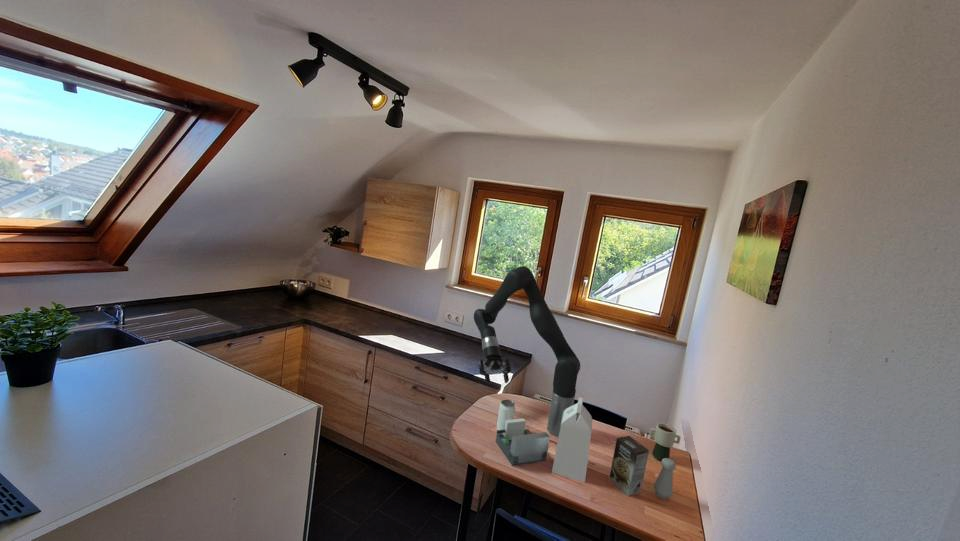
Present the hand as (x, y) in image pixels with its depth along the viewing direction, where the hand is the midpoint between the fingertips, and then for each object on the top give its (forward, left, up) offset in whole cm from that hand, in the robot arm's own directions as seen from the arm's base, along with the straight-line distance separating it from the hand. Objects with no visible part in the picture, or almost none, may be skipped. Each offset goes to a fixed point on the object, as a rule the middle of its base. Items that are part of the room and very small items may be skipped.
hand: (497, 382), depth 170 cm
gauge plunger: (+2, +19, -14) cm, 24 cm away
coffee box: (-28, +51, -16) cm, 61 cm away
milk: (-14, +38, -16) cm, 44 cm away
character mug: (-55, +41, -16) cm, 71 cm away
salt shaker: (-38, +58, -16) cm, 71 cm away
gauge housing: (0, +26, -15) cm, 30 cm away
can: (0, +11, -16) cm, 19 cm away
